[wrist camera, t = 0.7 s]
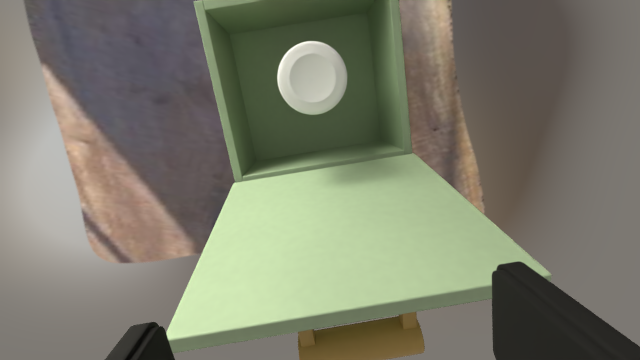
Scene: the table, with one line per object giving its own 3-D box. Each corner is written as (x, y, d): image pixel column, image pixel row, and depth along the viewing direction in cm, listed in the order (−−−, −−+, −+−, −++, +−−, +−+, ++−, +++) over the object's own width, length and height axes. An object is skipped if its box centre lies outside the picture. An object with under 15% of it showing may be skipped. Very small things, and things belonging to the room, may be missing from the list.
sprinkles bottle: (281, 75, 32) (265, 53, 19) (323, 60, 32) (336, 28, 19) (295, 117, 33) (290, 124, 20) (336, 104, 33) (357, 102, 20)
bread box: (223, 29, 31) (193, 1, 23) (371, 6, 32) (396, -31, 23) (252, 166, 35) (235, 185, 26) (386, 144, 35) (412, 156, 27)
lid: (161, 341, 12) (203, 423, 14) (553, 274, 12) (534, 366, 14) (233, 182, 26) (248, 236, 28) (414, 152, 26) (415, 208, 28)
